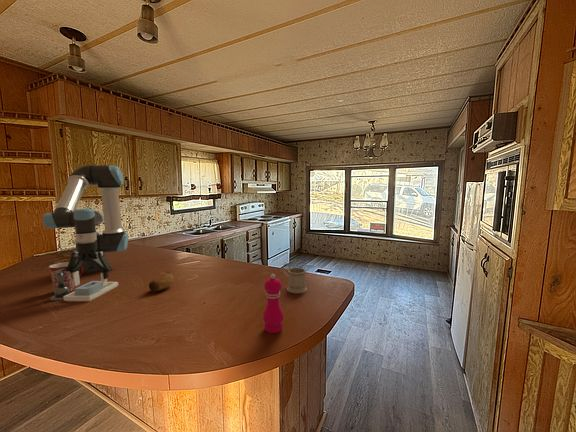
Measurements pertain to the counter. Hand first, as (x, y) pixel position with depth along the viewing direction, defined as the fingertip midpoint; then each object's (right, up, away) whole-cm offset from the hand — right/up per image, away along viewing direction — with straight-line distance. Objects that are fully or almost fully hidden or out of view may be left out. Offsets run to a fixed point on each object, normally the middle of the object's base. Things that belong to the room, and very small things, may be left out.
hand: (90, 285), depth 119 cm
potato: (+31, -4, +6) cm, 32 cm away
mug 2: (+97, -3, +6) cm, 98 cm away
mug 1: (-15, -4, +5) cm, 16 cm away
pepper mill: (+89, -7, -30) cm, 95 cm away
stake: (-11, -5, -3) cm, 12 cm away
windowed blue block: (0, -4, 0) cm, 4 cm away
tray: (0, -4, +1) cm, 4 cm away
